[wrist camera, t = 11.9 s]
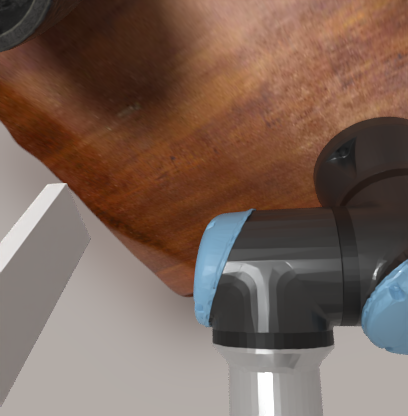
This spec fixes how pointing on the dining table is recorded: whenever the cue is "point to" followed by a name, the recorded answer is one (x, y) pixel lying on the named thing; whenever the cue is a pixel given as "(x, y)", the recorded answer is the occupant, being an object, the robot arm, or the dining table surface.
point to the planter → (29, 19)
